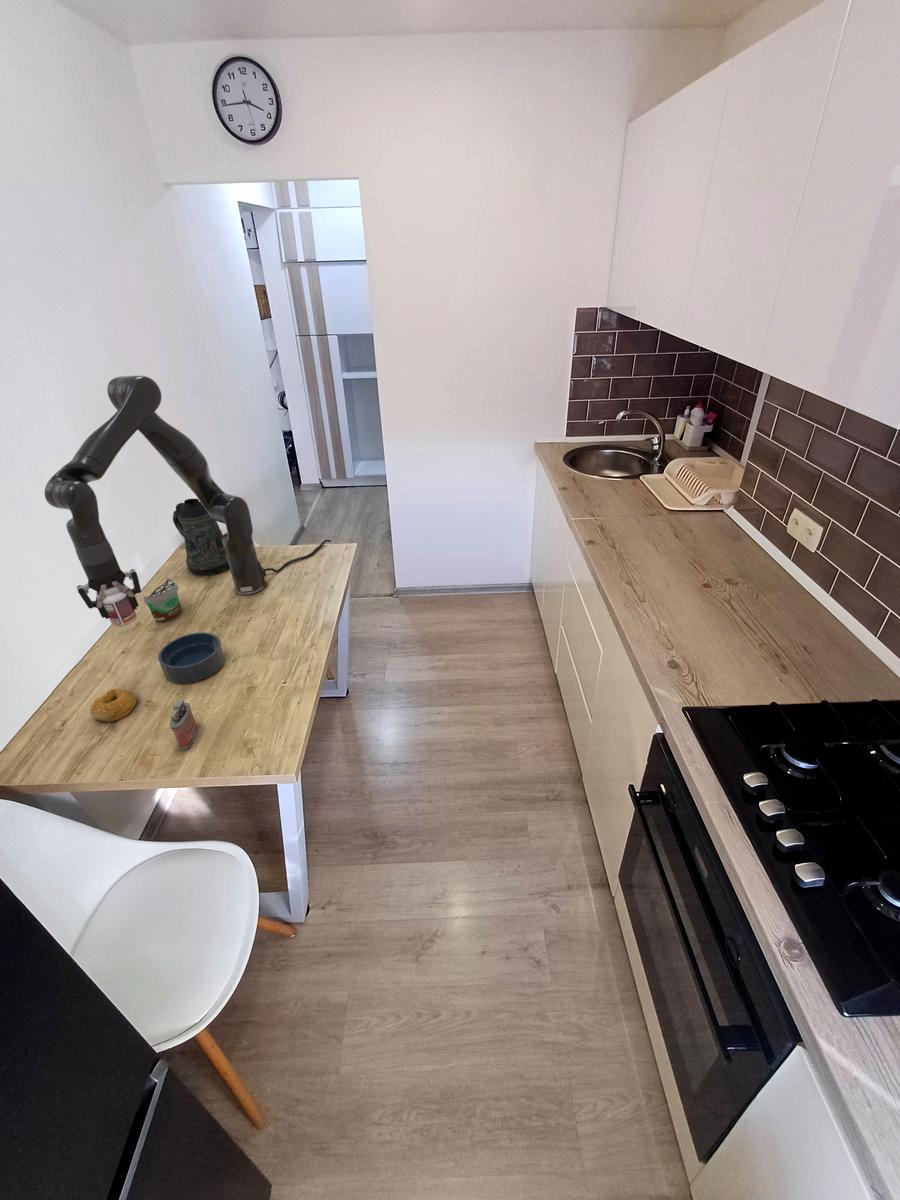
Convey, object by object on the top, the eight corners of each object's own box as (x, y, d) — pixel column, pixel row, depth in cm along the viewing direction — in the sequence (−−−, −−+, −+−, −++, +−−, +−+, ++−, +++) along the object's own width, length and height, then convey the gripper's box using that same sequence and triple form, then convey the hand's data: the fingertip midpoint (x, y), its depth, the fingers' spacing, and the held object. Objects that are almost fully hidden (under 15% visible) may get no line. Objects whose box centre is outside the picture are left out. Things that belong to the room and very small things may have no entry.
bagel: (147, 697, 148) (141, 683, 145) (118, 727, 139) (111, 713, 136) (114, 693, 150) (108, 679, 147) (84, 722, 141) (76, 708, 138)
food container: (170, 626, 175) (160, 599, 170) (153, 624, 176) (142, 597, 171) (193, 605, 185) (184, 578, 180) (176, 603, 187) (167, 577, 181)
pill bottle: (137, 612, 155) (122, 577, 149) (137, 623, 151) (122, 587, 145) (112, 618, 153) (96, 583, 147) (111, 630, 148) (95, 594, 142)
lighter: (187, 726, 138) (174, 695, 133) (201, 725, 138) (189, 693, 133) (176, 751, 131) (162, 719, 126) (191, 750, 131) (178, 718, 126)
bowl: (215, 642, 167) (210, 625, 164) (233, 669, 156) (227, 651, 153) (159, 664, 159) (152, 647, 156) (173, 693, 148) (166, 675, 145)
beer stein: (227, 575, 201) (208, 509, 188) (173, 578, 201) (150, 512, 188) (241, 553, 215) (224, 491, 202) (190, 556, 215) (170, 493, 202)
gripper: (66, 572, 135) (93, 629, 144) (131, 553, 142) (153, 609, 151) (62, 560, 141) (89, 616, 150) (125, 542, 147) (147, 597, 156)
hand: (121, 612), depth 150 cm, fingers closed on pill bottle, 6 cm apart
